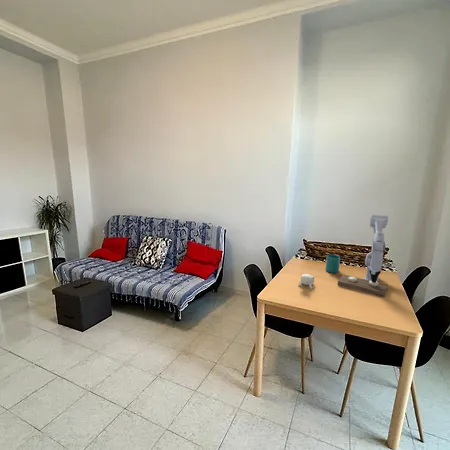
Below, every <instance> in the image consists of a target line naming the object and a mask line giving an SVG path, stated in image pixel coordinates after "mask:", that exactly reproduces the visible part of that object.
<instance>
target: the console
mask: <svg viewBox="0 0 450 450" xmlns="http://www.w3.org/2000/svg"><path fill="white" fill-rule="evenodd" d="M349 277H355V278H357V282H351V281H349V280H348V278H349ZM337 286H340V287H342V288H347V289H351V290H354V291H358V292H362V293H365V294H369V295H373V296H376V297H381V298H385V296H386V293H387V291H388V289H389V284H385V283H381V282H378V286H376V287H373V286H371V285H370V284H369V280H365V279H364V278H360V277H356V276H352V275H348V274H343V275H342V276H341V277H340V278H339V279H338V280H337Z"/></svg>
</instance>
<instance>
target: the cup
mask: <svg viewBox="0 0 450 450" xmlns="http://www.w3.org/2000/svg"><path fill="white" fill-rule="evenodd" d="M325 261H326V262H325V271H326V272H328V273H331V274H337V273H339V271H340V263H341V256H340V255H337V254H327V255H326V260H325Z"/></svg>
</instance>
